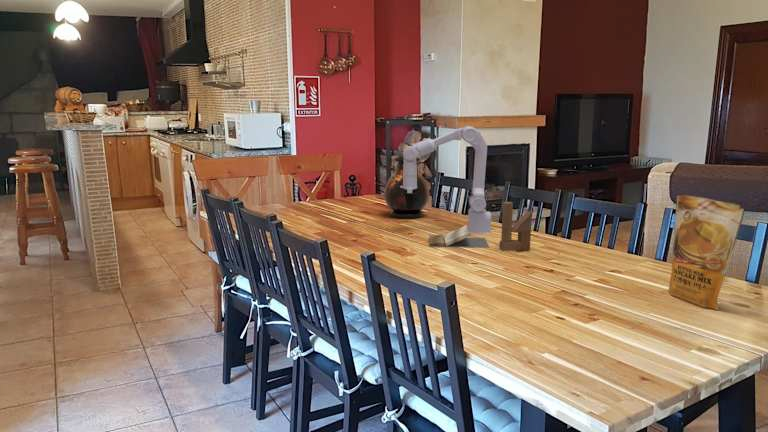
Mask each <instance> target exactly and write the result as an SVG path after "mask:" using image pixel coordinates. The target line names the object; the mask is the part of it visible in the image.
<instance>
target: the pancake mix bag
mask: <svg viewBox="0 0 768 432" xmlns="http://www.w3.org/2000/svg"><path fill="white" fill-rule="evenodd" d="M675 197H676V199H675V201H676V204H675V205H676V206H675V215H674V217H675V218H674V227H673V237H672V258H671V274H670V278H669V279H670V280H669V286H668V289H667V292H668V293H670V294H669V295H670V296H672V297H674V298H676V299H679V300H681V301H683V302H687V303H689V304H692V305H695V306H697V307H699V308H702V309H707V310H717V311H719V306H718V305H719V303H718V299H719V295H720V292H721V290H722V286H723V285H724V281H725V277H726V274H727V273H726V272H727V270H728V267H729V264H730V260H731V257H732V253H733V251H734V249H735V246H736V242H737V241H736V240H737V237H738V233H739V231H740V228H741V225H742V222H743V220H744V215H745V208H742V206H741V205H740V204H738V203H733V202H728V201H721V200H715V199H712V198H707V197H702V196H695V195H689V194H688V195H687V194H679V195H677V196H675Z"/></svg>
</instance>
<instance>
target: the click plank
mask: <svg viewBox="0 0 768 432" xmlns="http://www.w3.org/2000/svg"><path fill="white" fill-rule="evenodd" d="M471 236H472V235H471V233H469V230H468V224H466V225H463V226H461V227H459V228H457V229H454V230H452V231H449V232H447V233H445V234H444V235H443V237H444V239H445V244H446V246H448V245H450V244H453V243H455V242H457V241H460V240H462V239H464V238H470V237H471Z"/></svg>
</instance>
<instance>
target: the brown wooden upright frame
mask: <svg viewBox="0 0 768 432" xmlns="http://www.w3.org/2000/svg"><path fill="white" fill-rule="evenodd" d="M513 205H514V203H513V202H512V201H502V215H501V216H502V217H501V240H499V245H498V246H499V247H498V248H499V250H501V251H502V252H507V251H516V252H525V251H526V252H527V251H528V252H529V251H531V237H532V234H531V232H532V218H533V217H532V216H533V213H532V212H531V211H526V212H525V213H523V214H522V216H521V217H520V218H519V219H518V220H517V221H516V223H514V224H513V209H514V208H513V207H514V206H513ZM512 233H517V239H512Z"/></svg>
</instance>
